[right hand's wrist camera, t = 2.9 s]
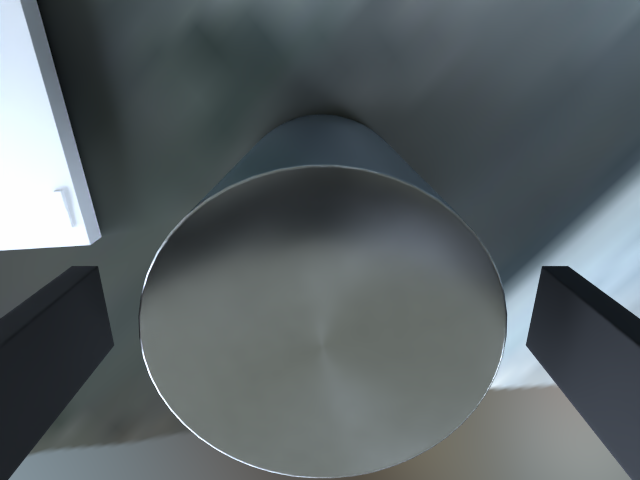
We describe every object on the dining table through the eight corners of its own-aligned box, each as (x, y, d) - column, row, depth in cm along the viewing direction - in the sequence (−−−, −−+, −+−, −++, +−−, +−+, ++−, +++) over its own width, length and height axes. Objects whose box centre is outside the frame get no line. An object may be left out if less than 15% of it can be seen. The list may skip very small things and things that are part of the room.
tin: (207, 224, 23) (80, 388, 11) (295, 76, 20) (256, 74, 8) (343, 304, 24) (364, 520, 12) (441, 178, 22) (588, 301, 10)
